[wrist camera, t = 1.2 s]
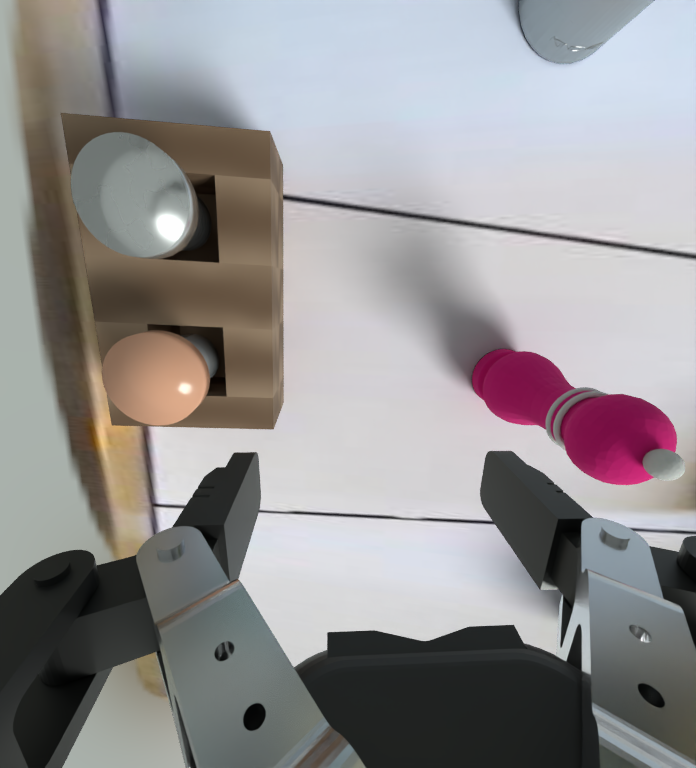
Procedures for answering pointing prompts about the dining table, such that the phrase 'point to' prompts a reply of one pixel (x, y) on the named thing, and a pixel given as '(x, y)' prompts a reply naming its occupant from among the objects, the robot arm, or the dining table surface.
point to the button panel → (203, 268)
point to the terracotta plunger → (159, 375)
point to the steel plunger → (137, 198)
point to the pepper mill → (581, 418)
